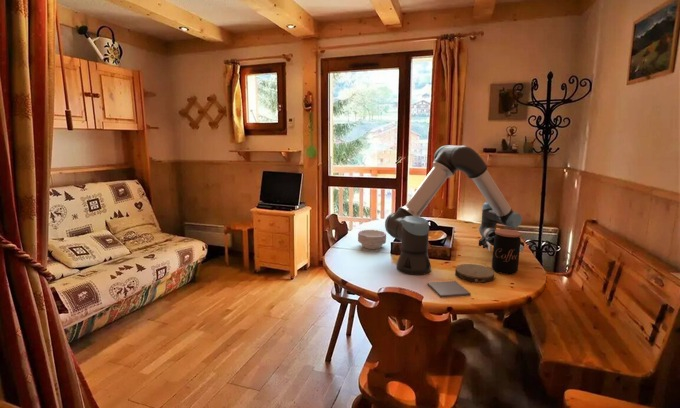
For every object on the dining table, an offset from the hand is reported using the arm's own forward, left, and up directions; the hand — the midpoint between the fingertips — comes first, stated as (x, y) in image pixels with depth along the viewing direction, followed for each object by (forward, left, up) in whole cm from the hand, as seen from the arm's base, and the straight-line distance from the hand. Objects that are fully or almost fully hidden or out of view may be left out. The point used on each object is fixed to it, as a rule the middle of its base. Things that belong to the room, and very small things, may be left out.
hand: (506, 249), depth 160 cm
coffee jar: (0, 0, -10) cm, 10 cm away
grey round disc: (-17, -4, -10) cm, 21 cm away
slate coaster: (-35, -16, -10) cm, 40 cm away
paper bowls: (-50, +44, -10) cm, 67 cm away
